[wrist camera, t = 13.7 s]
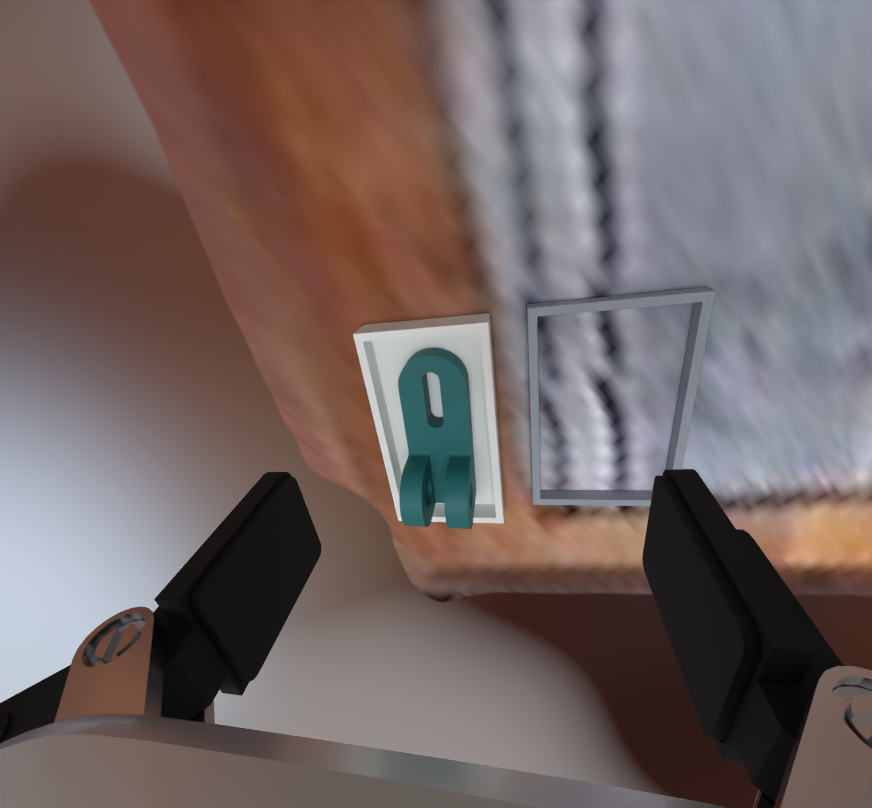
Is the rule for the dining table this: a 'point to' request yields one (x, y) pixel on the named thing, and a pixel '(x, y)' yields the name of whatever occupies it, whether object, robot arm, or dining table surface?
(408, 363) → the bracket
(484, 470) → the parts tray
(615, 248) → the dining table surface
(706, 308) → the grey rectangular frame
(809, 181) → the dining table surface
